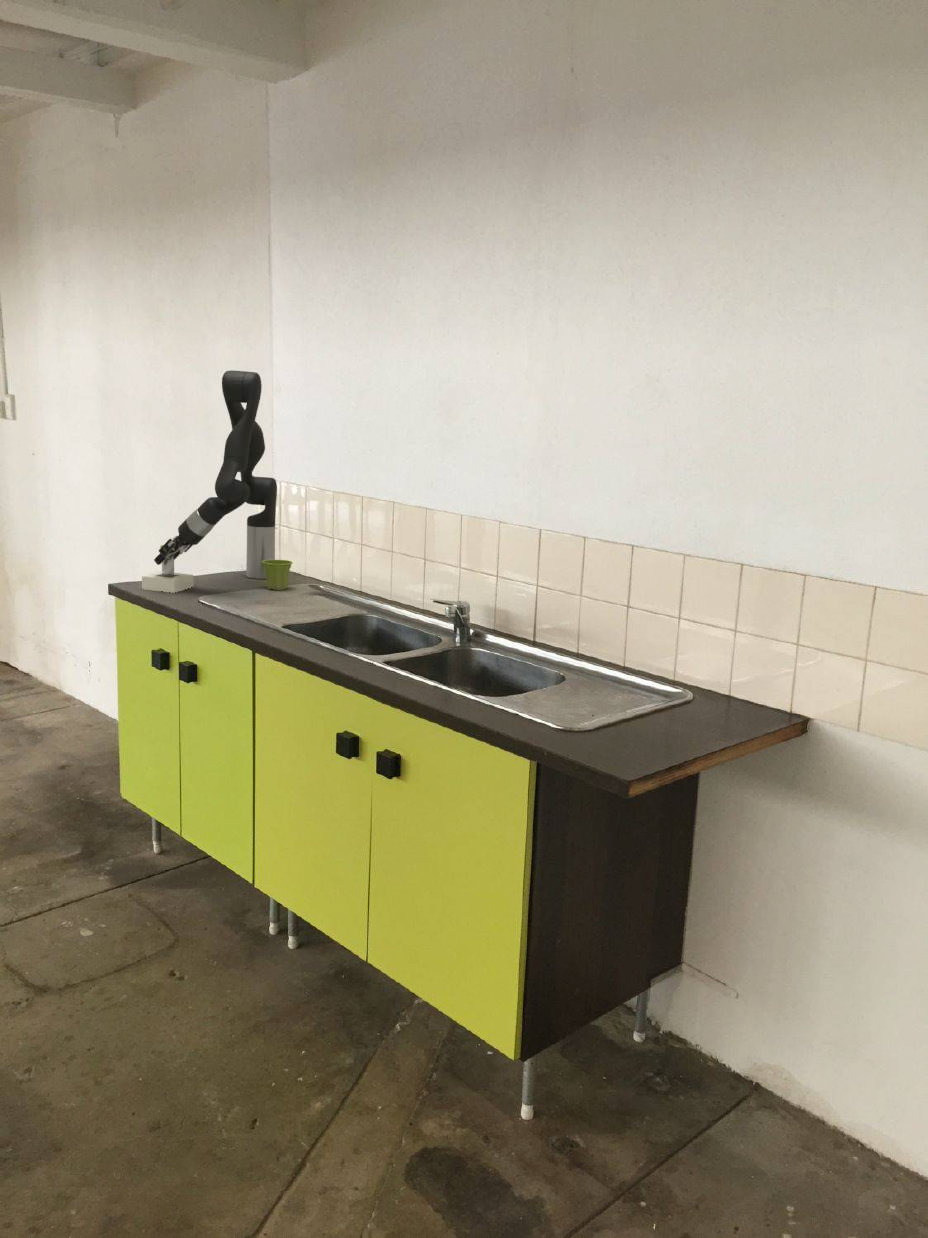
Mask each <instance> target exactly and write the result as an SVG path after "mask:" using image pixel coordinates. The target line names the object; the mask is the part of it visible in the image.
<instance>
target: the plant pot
mask: <svg viewBox="0 0 928 1238" xmlns="http://www.w3.org/2000/svg"><path fill="white" fill-rule="evenodd" d="M262 563H263V564H264V568H265V573H266V579H265V580H266V587H267V589H268V590H274V591H283V590H287V589H288V582H289V577H290V571H291V568H292V564H293V561H291V560H287V559H275V560H264V561H262Z"/></svg>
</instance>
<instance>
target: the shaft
mask: <svg viewBox="0 0 928 1238" xmlns="http://www.w3.org/2000/svg"><path fill="white" fill-rule="evenodd" d="M163 545H164V544H162V545H160V548H161V547H162V546H163ZM160 548H159V549H160ZM172 550H175V549H174V548H173V549H172ZM165 551H166V550H165ZM161 571H162V577H168V578H172V577H174V573H175V560H174V554H171V555H169V556H168V557H167V558H166V559H165V560H164V561H163V562H162V563H161Z"/></svg>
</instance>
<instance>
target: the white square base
mask: <svg viewBox="0 0 928 1238" xmlns="http://www.w3.org/2000/svg"><path fill="white" fill-rule="evenodd" d="M191 587H193V588H194V574H189V573H181V572H174V577H172V578H168V577H162V570H161V571H158V572H154V573H150V574H146V575H142V576H141V589H142V590H146V591H152V592H153V591H154V592H161V591H163V593H169V592H170V593H171V594H175V592H176V593H178V591H179V592H182V591H186V590H189V589H192V588H191ZM188 588H189V589H188ZM185 589H186V590H185Z"/></svg>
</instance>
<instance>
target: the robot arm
mask: <svg viewBox="0 0 928 1238" xmlns="http://www.w3.org/2000/svg"><path fill="white" fill-rule="evenodd" d="M262 385H263V384H262V379H261V376H260V374H259V373H258V372H255V371H254V372H253V371H243V370H226V371H225V372H224V373H223V374H222V378H221V387H222V388H221V390H222V395H223V398H224V399H223V400H224V401H225V402H224V403H225V406H226V408H227V413H228V415H229V420H230V425H231V429H232V430H231V431H230V432H229V434H228V435H227V437H226V441H225V445H224V452H223V461H222V465H221V467H220V469H219V472H218V475H217V477H216V480H215V482H214V491H215V495H216V496H211V497H208V498H207V499H206V500H204V501H203V502H202V503H201V504H200V506H198V508H196V509H195V510H194V511H193V512H191V513H190V514H189V515H188V516H187V518H186V519H184V520H183V522H182V523H181V524H180V525H179V526H178V528H177V531H178V535H176V536H175V537H173V538H169V539H168V540H167V541H166V542H165V543H164V544H162V545H163V546H162V547H161V548H159V549H158V553H159V554H158V555H157V556H156V557H155V558H154V559H153V561H154V562H155V563H156V565H157V566H159V565H162V562H163V561H164V560H165V559H166V558H167V557H168V556H169V555H171V554H174V561H175V560H176V559H177V558H178V557H179V556H180V555H182V554H183V553H187V552H188V551H189V550H190V549H191V548H192V547H193V546H197V545H198V544H199V543H200V542H201V541H202V540H203V539H204V538H205V537H206V536H207V535H208V534H209V533H210V532H211V531H212V529H214V527H215V526H216V525H217V524H218V523H219V522H220V521H221V520H222V519H223V518H224V517H225V516H226V515H228V514H230V513H232V512H233V511H235V510H237V509H239V508H240V507H241V506H242V505H244V504H245V503H246V504H248V505H251V506H252V505H254V506H264V509H263V510H262V511H260V512H258V513H255V514H252V515H249V516H248V517H247V519H246V570H245V571H246V575H245V576H246V577H247V578H249V579H259V580H261V579H262V580H264V579H265V580H266V573H265V568H264V564H263V563H262V561H264V560H276V517H277V516H276V514H277V513H276V512H277V511H276V510H277V499H278V497H277V496H278V484H277V480H276V479H275V478H274V477H268V476H265V477H264V476H254V475H253V472H254V469H255V467H256V466H257V465H258V463H260V461H261V459H262V458H263V456H264V453H265V452H266V451H265V450H266V444H265V439H264V433H263V430H262V428H261V426H260V424H258V422H257V421H256V419H257V418H256V417H257V414H258V409H259V405H260V401H261V395H262V389H263V388H262ZM243 403H244V404H246V406H245V408H244V406H243V405H242V404H243ZM238 473H239V474H240V480H239V479H237V478H236V477H237V474H238ZM173 548H174V549H175V550H172V549H173ZM165 550H166V551H165Z"/></svg>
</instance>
